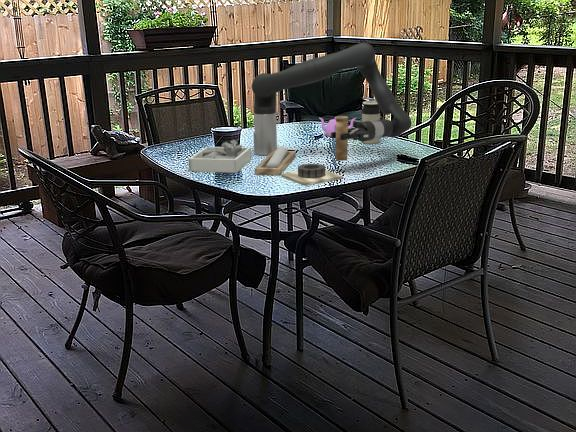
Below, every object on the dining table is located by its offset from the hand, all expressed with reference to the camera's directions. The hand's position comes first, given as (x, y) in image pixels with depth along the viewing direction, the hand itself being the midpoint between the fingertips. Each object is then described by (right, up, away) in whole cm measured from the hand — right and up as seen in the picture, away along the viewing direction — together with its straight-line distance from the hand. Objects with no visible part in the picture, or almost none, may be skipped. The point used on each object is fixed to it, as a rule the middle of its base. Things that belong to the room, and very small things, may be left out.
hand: (336, 136), depth 243 cm
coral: (-44, -10, +18) cm, 49 cm away
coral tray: (-44, -9, +19) cm, 49 cm away
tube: (-22, -10, +17) cm, 30 cm away
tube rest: (-22, -9, +17) cm, 30 cm away
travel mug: (+19, +4, +54) cm, 57 cm away
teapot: (+6, +9, +71) cm, 72 cm away
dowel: (+2, -8, +4) cm, 9 cm away
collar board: (-9, -15, -2) cm, 18 cm away
